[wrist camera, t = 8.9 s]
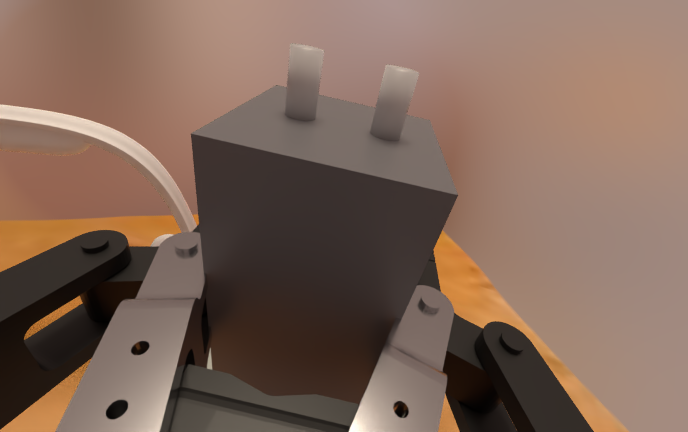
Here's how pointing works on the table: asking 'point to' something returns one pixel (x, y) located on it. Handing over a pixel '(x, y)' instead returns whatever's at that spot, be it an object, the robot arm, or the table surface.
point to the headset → (76, 136)
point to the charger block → (315, 229)
